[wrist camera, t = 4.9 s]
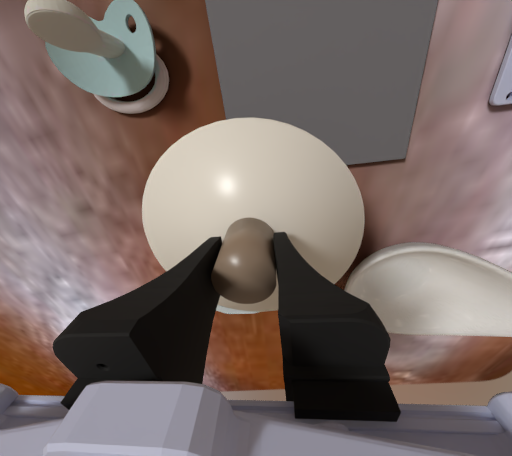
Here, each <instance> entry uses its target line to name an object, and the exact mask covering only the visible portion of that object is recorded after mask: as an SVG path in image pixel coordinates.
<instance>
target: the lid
mask: <svg viewBox="0 0 512 456" xmlns="http://www.w3.org/2000/svg"><path fill="white" fill-rule="evenodd" d="M142 218H143V225H144V230H145V234H146V237H147V240H148V243H149V245H150V247H151V249H152V251H153V253H154V255H155V257H156V258H157V260H158V261H159V263H160V264H161V266H162V267H163V268H164V269H165V270H166V271H168V270H170V269H171V268H173V267H174V266H175V265H177V264H178V263H179V262H181V261H182V260H183V259H184V258H186V257H187V256H188V255H190V254H191V253H192V252H193V251H194V250H196V249H197V248H198V247H199V246H200V245H201V244H203V243H204V242H205V241H206V240H207V239H209V238H210V237H219V236H221V239H222V246H221V249H220V251H219V254H218V257H217V260H216V263H215V265H214V268H213V271H212V274H211V281H212V284H213V287H214V288H215V290H216V291H217V292H218V293H219V294H220V298H219V302H218V305H220V306H223V307H227V308H231V309H236V310H243V311H259V312H261V311H274V310H278V280H277V271H276V258H275V250H274V240H273V234H274V233H275V232H285V233H287V236H288V238H289V240H290V241H291V243H292V244H293V246H294V247H295V248H296V250H297V251H298V252H299V254H300V255H301V256H302V257H303V258H304V259H305V261H306V262H307V263H308V264H309V265H310V266H311V267H312V268H314V269H315V270H316V271H317V272H318V273H319V274H321V275H322V276H323V277H324V278H326V279H327V280H329V281H330V282H331V283H333V284H335V283H336V282H337V281H338V280H339V279H340V278H341V277H342V276H343V275H344V274H345V273H346V271H347V270H348V269H349V267H350V266H351V264H352V262H353V261H354V259H355V257H356V255H357V253H358V250H359V248H360V245H361V241H362V238H363V234H364V223H365V217H364V206H363V201H362V197H361V193H360V190H359V188H358V185H357V183H356V181H355V178H354V177H353V175H352V174H351V172H350V170H349V169H348V167H347V165H346V164H345V163H344V162H343V161H342V160H341V159H340V157H339V156H338V155H337V154H336V153H335V152H334V151H333V150H332V149H331V148H329V147H328V146H327V145H326V144H325V143H323V142H322V141H321V140H319V139H318V138H316V137H314V136H313V135H311V134H310V133H308V132H306V131H305V130H302V129H300V128H297V127H295V126H293V125H290V124H288V123H284V122H280V121H276V120H272V119H265V118H255V117H248V118H233V119H228V120H223V121H218V122H214V123H211V124H209V125H206V126H203V127H200V128H198V129H196V130H194V131H192V132H191V133H189V134H187V135H185V136H183V137H182V138H181V139H180V140H178V141H177V142H176V143H174V144H173V145H172V146H171V147H170V148H169V149H168V150H167V151H166V152H165V153H164V154H163V155H162V156H161V157H160V159H159V160H158V162H157V163H156V165H155V166H154V168H153V170H152V171H151V174H150V176H149V178H148V181H147V183H146V187H145V191H144V195H143V203H142Z"/></svg>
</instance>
